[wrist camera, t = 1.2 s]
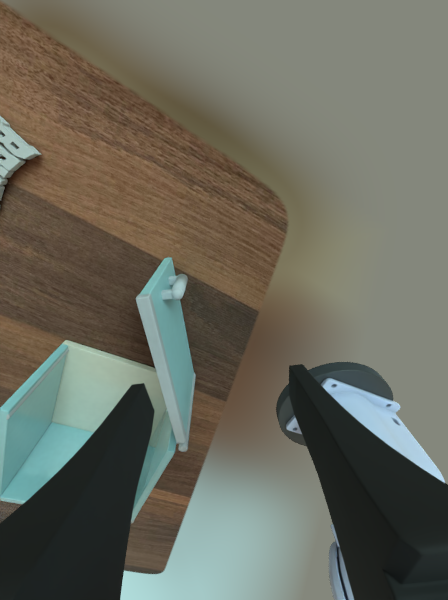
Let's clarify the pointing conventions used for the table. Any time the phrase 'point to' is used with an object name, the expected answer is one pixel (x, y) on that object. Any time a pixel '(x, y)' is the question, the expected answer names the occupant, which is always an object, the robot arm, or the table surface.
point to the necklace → (12, 153)
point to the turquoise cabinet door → (169, 342)
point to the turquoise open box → (76, 419)
